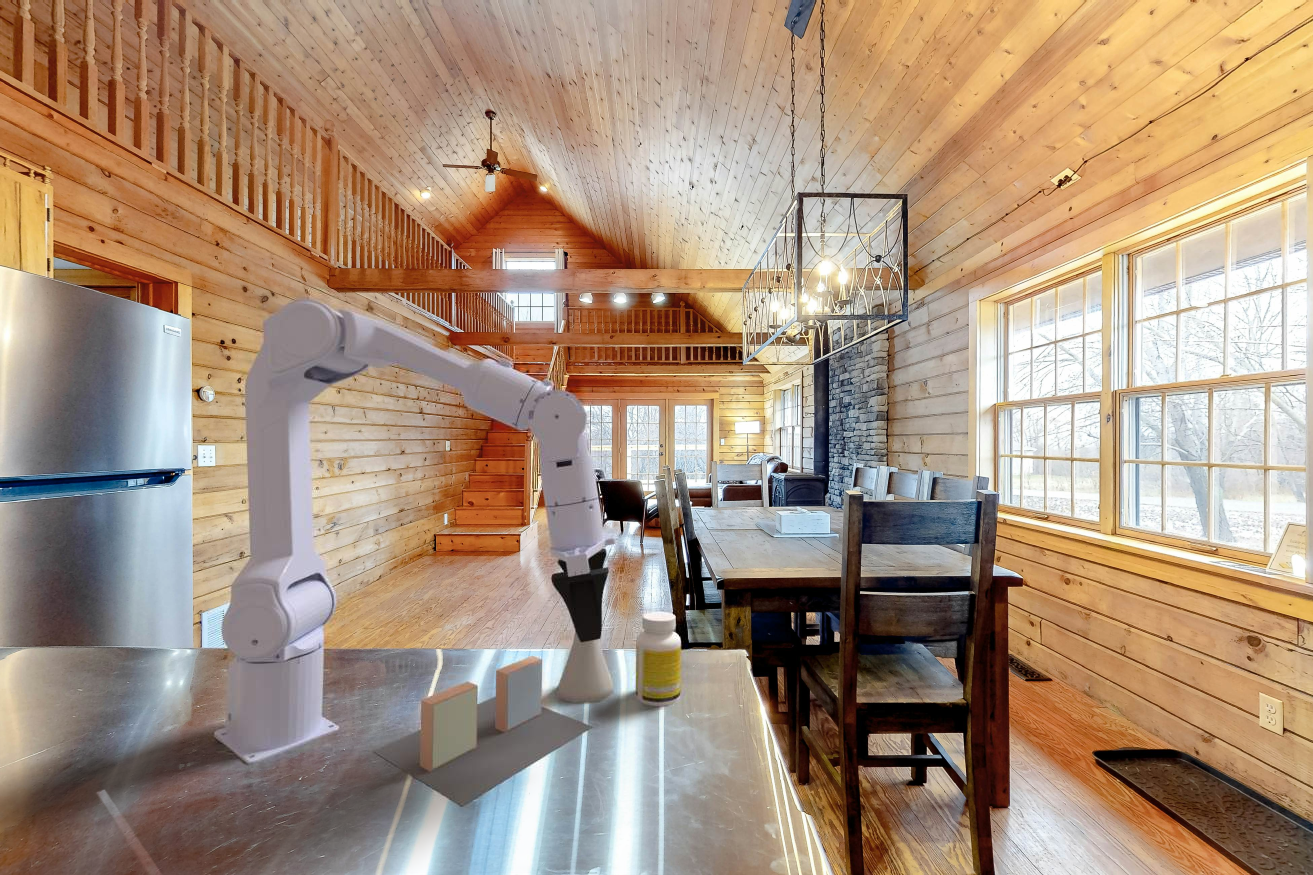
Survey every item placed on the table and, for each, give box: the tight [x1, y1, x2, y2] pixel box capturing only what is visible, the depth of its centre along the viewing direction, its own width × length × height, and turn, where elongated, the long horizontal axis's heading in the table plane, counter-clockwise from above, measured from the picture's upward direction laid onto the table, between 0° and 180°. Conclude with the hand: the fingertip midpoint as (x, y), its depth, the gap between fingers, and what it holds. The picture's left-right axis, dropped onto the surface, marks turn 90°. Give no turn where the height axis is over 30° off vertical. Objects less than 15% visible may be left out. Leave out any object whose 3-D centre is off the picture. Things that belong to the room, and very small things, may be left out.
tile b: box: [495, 655, 543, 733], centre depth 59 cm, size 2×5×6 cm, turn 145°
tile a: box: [420, 681, 479, 772], centre depth 52 cm, size 2×5×6 cm, turn 145°
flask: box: [556, 630, 615, 704], centre depth 67 cm, size 7×7×10 cm
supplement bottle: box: [635, 611, 682, 707], centre depth 66 cm, size 5×5×10 cm
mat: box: [372, 695, 594, 807], centre depth 55 cm, size 14×16×1 cm
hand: (590, 627), depth 59 cm, fingers open, 7 cm apart
